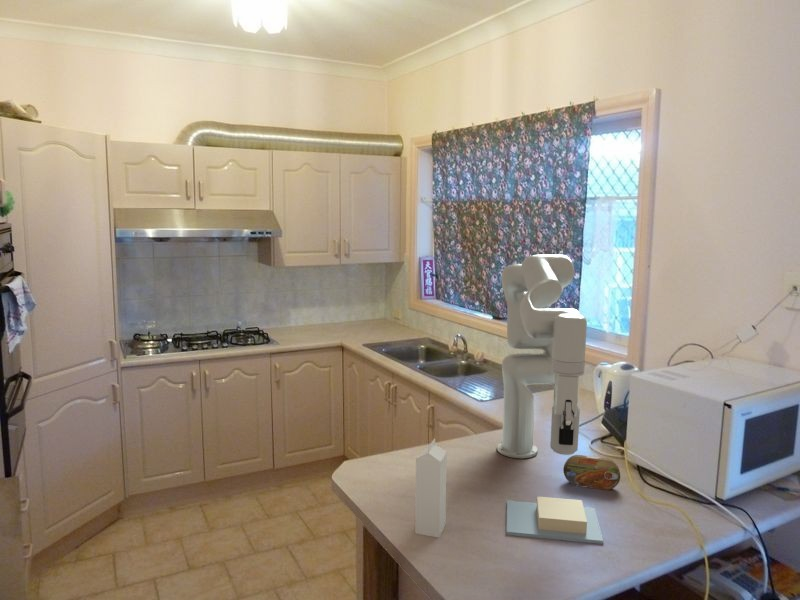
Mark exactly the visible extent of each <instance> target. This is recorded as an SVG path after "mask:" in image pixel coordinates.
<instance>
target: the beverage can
mask: <svg viewBox="0 0 800 600" xmlns="http://www.w3.org/2000/svg"><path fill="white" fill-rule="evenodd" d="M573 413H574V412H573ZM580 414H581V409H580V407H579V404H578V405H577V415H576V416H575V417H573V428H574V434H573V445H560V444H559V427H561V415H558V416H556V415H555V413H554V405H553V404H552V407H551V425H550V444H549V445H550V449H551V450H552V451H553V452H554V453H556V454H559V455H564V456H566V455H567V456H571V455H573V454H574V455H575V453H577V451H578V448H579V447H578V446H579V432H580V431H579V430H580ZM563 415H566V412H563ZM564 420H565V418H563V421H564Z"/></svg>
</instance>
